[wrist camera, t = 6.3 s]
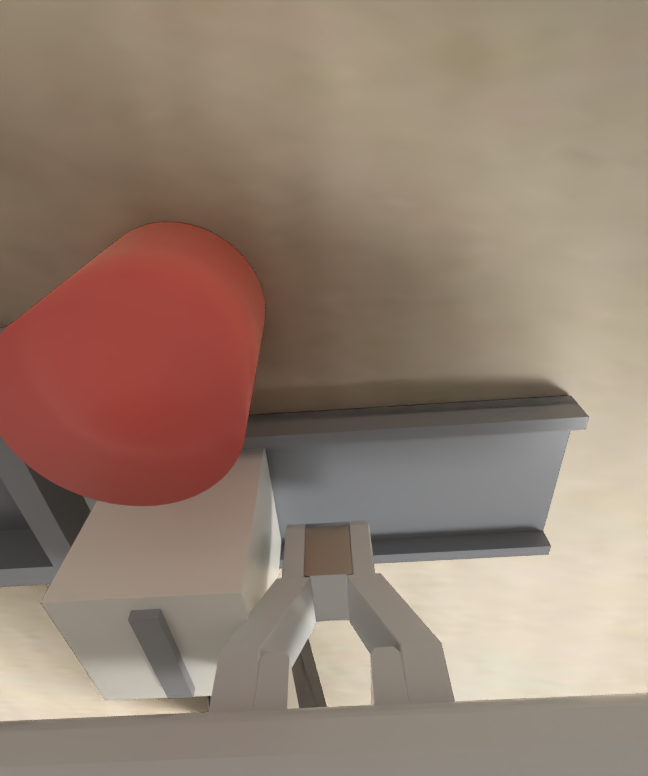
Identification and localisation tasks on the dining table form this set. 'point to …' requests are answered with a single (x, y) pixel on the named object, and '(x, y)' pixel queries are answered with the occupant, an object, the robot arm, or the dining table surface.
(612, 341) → the dining table surface
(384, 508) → the rail
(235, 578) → the white slotted block
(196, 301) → the cap
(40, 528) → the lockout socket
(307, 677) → the electrical switch
